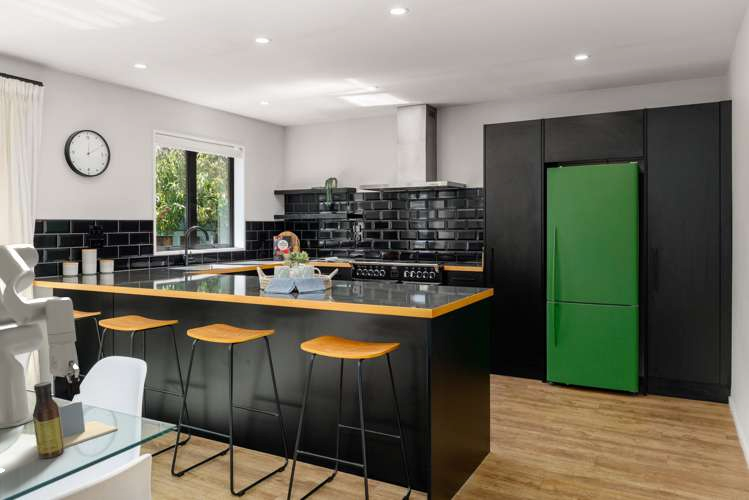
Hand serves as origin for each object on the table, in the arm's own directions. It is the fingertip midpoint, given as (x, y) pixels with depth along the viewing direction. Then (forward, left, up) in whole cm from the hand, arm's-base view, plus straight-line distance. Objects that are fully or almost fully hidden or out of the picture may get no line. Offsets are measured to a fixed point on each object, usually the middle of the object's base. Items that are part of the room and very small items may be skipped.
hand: (67, 392), depth 174 cm
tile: (+6, +1, -7) cm, 9 cm away
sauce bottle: (+17, -13, -12) cm, 25 cm away
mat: (+7, -1, -12) cm, 14 cm away
